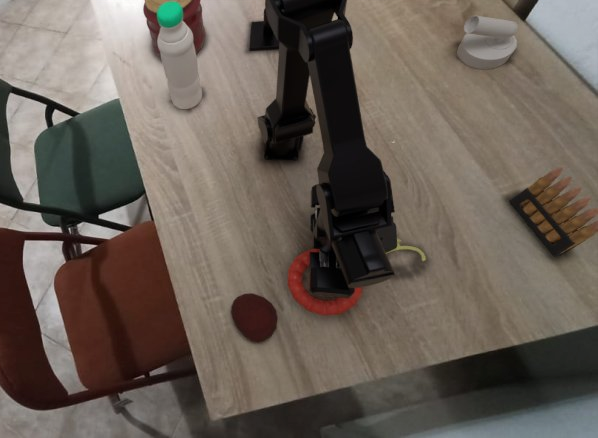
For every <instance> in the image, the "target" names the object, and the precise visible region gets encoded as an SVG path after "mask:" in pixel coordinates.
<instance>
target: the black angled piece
mask: <svg viewBox="0 0 598 438" xmlns="http://www.w3.org/2000/svg"><path fill="white" fill-rule="evenodd" d="M249 37H250V38H249V52H253V51H255V52H256V51H269V50H271V51H273V50H279V43H280V42H279V41H278V40H277V38H276V36H275V34H274V32H273V30H272V28H271V26H270V24H269V22H268V19H267V16H266V10H265V8H263V20H258V21H257V20H256V21H252V22H251V27H250V36H249Z"/></svg>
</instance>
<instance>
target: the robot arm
mask: <svg viewBox="0 0 598 438" xmlns="http://www.w3.org/2000/svg"><path fill="white" fill-rule="evenodd" d="M347 5H348V0H264V9H265V10H266V16H267V19H268V22H269V24H270V26H271V28H272V30H273V32H274V34H275V36H276V38H277V40H278V41H279V42H280V43H279V49H278V58H277V59H278V60H277V76H276V79H277V80H276V91H275V92H276V93H275V99H273V101H272V102H271V103H270V104H269V105H267V107H266V108H265V112H264V115H263V114H262V115H260V116H257V118H256V119H257V127H258V129H259V132H260V134H261V138H262V140H263V143H264V152H263V158H264V160H266V161H269V160H270V161H297V160H298V159H299V151H301V150H302V147H303V141H304V136H308V135H311V134H313V133H314V127H315V125H316V119H317V121H318V126H319V131H320V136H321V141H322V148H323V154H322V156H321V158H320V161H319V163H318V166H317V168H316V172H317V179H318V183H317V184H314V185H313V186H311V190H310V208H314V209H315V208H316V209H315V213H311V215H310V224H309V225H310V227H309V228H310V232H311V233H312V249H320V250H319V252H310V265H309V275H308V293H309V294H310V295H311V296H319V297H328V298H329V297H330V298H350V297H351V296H352V295H353V294H354V293H355V288H360V287H362V288H365V287H371V286H374V285H377V284H381V283H383V282H385V281H389V280H390V279H392V278H393V277H395V276H396V274H395V271H394V270H395V269H394V268H393V266H392V263H391V261H390V259H389V257H388V255H387V254H388V253H387V252H389V251H392V250H394V249H396V248H397V238H398V233H397V232H398V231H397V224H396V223H395V221H394V216H393V215H392V213H395V212H396V209H395V204H394V195H393V187H392V182H391V179H390V177H389V175H388V174H387V173H386V172H385V170H384V167H383V163H382V160H381V158H380V157H378V155H376V154H375V153H374V152H373V150H371V149H370V148H369V147H368V145H367V141H366V136H365V131H364V123H363V119H362V114H361V113H362V112H361V107H360V102H359V95H358V89H357V84H356V78H355V72H354V66H353V61H352V55H351V49H352V47H353V43H354V36H353V35H354V34H353V29H352V26H351V24H350V21H349V20H348V18H347V17H346V10H347ZM334 15H335V16H336V17H337V19H334V20H333V18H334ZM310 82H311V83H310ZM309 83H310V84H311V88H312V95H313V99H314V105H315V110H316V114H315V113H314V111H313V110H312V108H311V107H310V106H309V103H308V101H307V95H308V89H309ZM316 115H317V116H316ZM316 206H319V207H316ZM392 252H393V251H392ZM386 253H387V254H386ZM389 253H390V252H389Z"/></svg>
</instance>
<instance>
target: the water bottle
mask: <svg viewBox="0 0 598 438" xmlns="http://www.w3.org/2000/svg"><path fill="white" fill-rule="evenodd" d="M157 19H158V22H159V24H160V26H161V28H160V33H159V36H158V40H157V44H158V48H159V50H160V54H161V58H160V59H161V63H162V67H163V72H164V74H165V78H166V80H167V87H168V90H169V95H170V99H171V102H172V104H173V105H174V107H176V108H177V109H181V110H188V109H192V108H194V107H196V106H197V105H198V104H200V102H201V100H202V98H203V89H202V85H201V77H200V74H199V67H198V66H199V65H198V59H197V58H198V57H197V53H196V52H195V47H194V43H193V33H192V31H191V29H190V28H189V27H188V26H187V25H186V24H185V22H184V21H183V9H182V7H181V5H180V4H179V3H177V2H175V1H170V2H166V3H164V4H162V5H161V6H160V7H159V8H158V11H157Z"/></svg>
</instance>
